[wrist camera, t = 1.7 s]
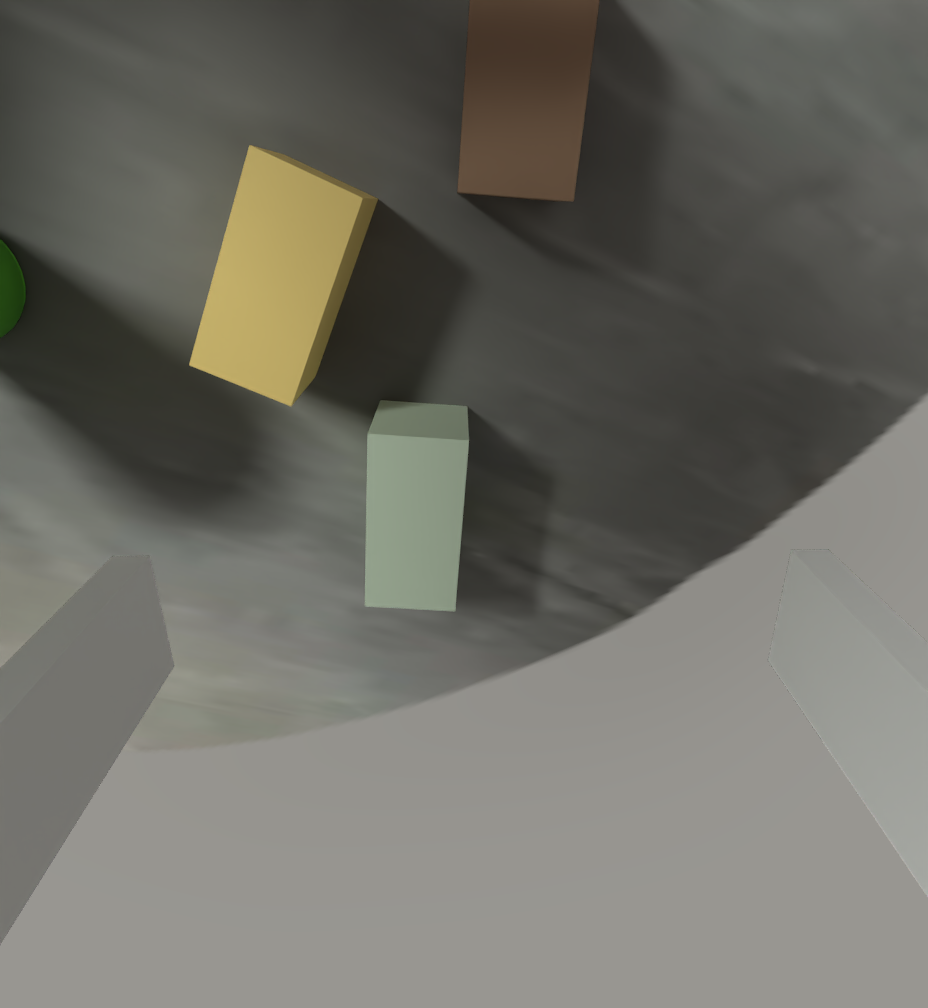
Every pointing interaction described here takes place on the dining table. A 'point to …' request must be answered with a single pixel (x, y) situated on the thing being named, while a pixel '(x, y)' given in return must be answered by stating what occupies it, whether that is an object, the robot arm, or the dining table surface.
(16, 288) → the cup
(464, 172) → the walnut brick
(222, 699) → the dining table surface
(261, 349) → the mustard brick
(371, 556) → the sage brick
